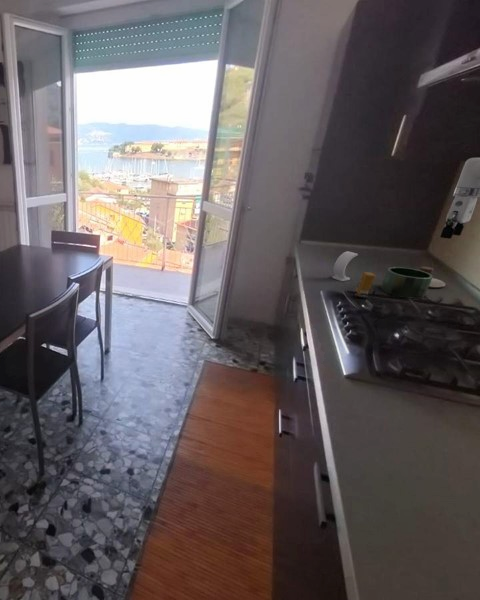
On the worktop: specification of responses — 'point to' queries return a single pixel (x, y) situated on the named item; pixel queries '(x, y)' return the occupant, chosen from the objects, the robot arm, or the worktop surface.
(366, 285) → the supplement box
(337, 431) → the worktop surface
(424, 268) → the tin lid
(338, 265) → the headphone stand
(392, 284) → the lunch tin
